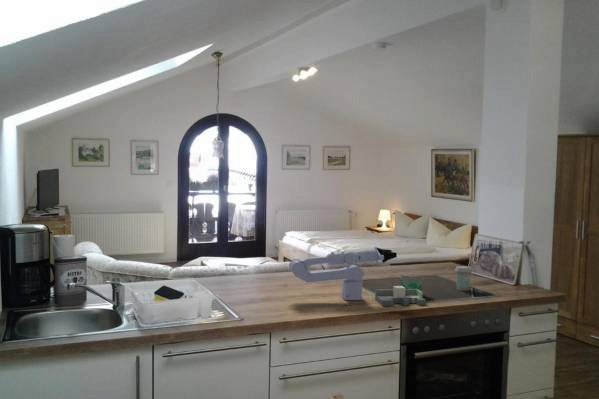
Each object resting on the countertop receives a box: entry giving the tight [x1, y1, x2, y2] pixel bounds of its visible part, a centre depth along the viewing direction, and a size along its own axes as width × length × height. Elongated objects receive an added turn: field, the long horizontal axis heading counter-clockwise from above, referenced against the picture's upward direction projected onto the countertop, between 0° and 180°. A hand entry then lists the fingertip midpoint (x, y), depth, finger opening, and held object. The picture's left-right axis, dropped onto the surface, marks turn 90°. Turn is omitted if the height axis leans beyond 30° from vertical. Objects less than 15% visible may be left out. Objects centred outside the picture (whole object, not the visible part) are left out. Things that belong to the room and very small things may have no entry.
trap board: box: [374, 288, 427, 307], centre depth 264 cm, size 21×11×5 cm, turn 98°
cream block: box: [392, 285, 405, 298], centre depth 266 cm, size 4×4×4 cm
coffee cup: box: [454, 265, 473, 292], centre depth 294 cm, size 8×9×12 cm
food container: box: [399, 274, 425, 292], centre depth 278 cm, size 12×6×10 cm, turn 101°
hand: (393, 253), depth 272 cm, fingers open, 7 cm apart
